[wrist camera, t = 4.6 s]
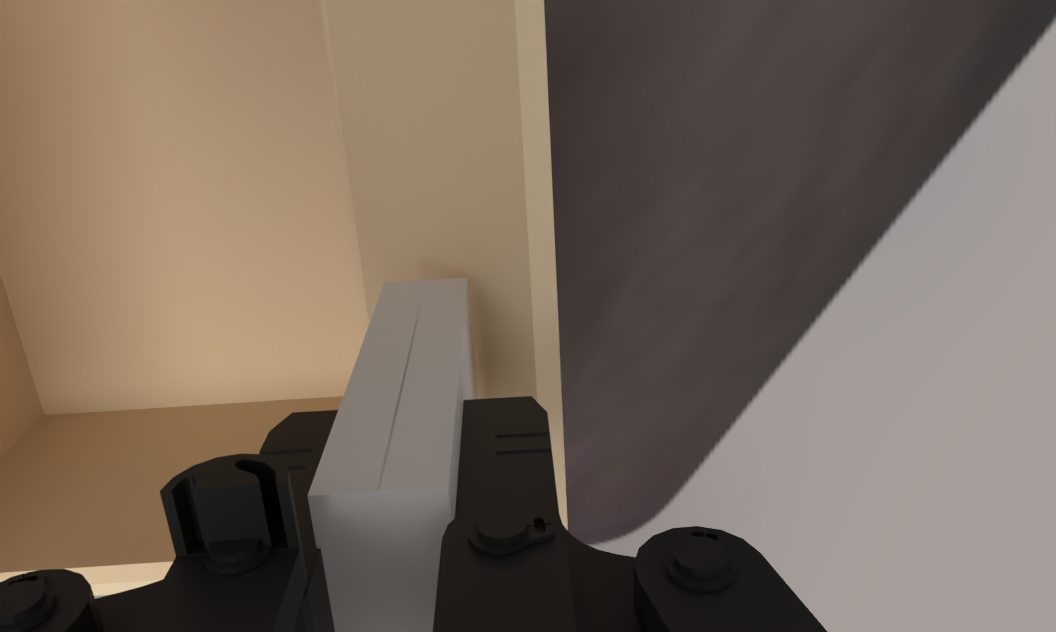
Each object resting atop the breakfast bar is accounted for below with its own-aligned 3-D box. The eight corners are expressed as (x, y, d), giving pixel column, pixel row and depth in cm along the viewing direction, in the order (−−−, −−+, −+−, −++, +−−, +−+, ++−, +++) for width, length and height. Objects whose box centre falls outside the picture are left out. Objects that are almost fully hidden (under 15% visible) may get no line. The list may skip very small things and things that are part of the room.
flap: (308, -117, 16) (504, -178, 11) (333, -117, 17) (536, -176, 11) (401, 556, 22) (556, 732, 17) (418, 549, 23) (576, 720, 17)
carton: (-127, -110, 26) (-476, -155, 17) (384, -140, 26) (321, -201, 17) (45, 439, 33) (-130, 620, 24) (443, 413, 33) (422, 584, 24)
